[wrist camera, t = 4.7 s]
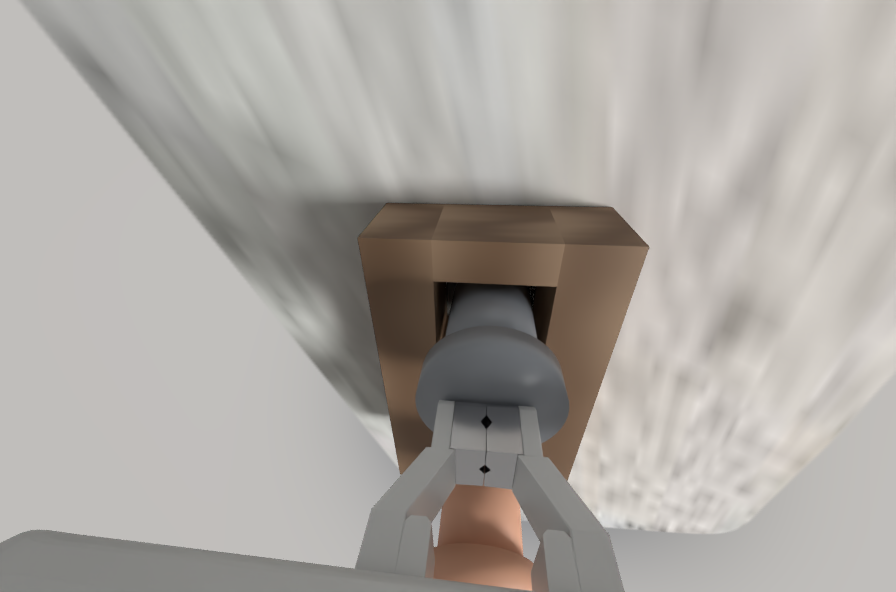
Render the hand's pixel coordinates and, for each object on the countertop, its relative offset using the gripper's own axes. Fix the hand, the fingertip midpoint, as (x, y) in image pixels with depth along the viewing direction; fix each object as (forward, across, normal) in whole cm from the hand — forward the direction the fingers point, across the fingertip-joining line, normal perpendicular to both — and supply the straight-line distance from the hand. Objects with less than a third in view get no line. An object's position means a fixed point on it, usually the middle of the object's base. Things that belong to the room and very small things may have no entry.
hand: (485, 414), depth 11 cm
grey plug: (+6, 0, 0) cm, 6 cm away
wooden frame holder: (+8, 0, +4) cm, 9 cm away
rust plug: (+3, 0, +8) cm, 8 cm away
